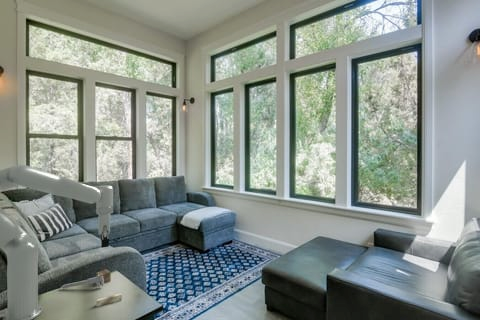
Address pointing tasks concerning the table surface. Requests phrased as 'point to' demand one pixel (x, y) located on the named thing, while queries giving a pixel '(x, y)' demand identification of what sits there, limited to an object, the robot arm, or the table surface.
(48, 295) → the table surface
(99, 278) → the caliper
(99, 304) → the rail
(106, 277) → the walnut block
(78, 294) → the table surface
